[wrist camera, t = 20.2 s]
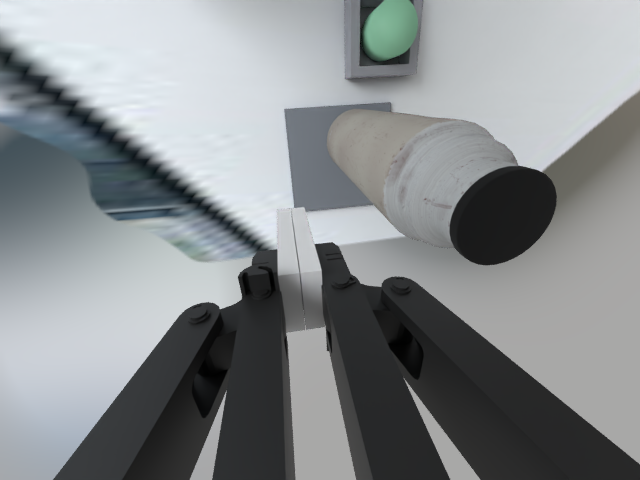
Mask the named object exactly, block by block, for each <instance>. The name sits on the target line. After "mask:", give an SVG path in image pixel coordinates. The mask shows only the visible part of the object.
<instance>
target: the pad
mask: <svg viewBox="0 0 640 480" xmlns="http://www.w3.org/2000/svg"><path fill="white" fill-rule="evenodd" d="M390 108H391V103H375V104H359V105H343V106H327V107H311V108H295V109H284V110H285V119H286V129H287V139H288V148H289V158H290V168H291V178H292V187H293V197H294V207H295V208H300V207H304V208H305V211H314V210H324V209H333V208H343V207H353V206H362V205H372V204H373V203H372V202H371V201H370V200H369V199H368V198H367V197H366V196H365V195H364V194H363V193H362V191H361V190H360V189H359V188H358V187H357V186H356V185H355V184H354V183H353V182H352V181H351V180H350V179H349V177H348V176H347V175H346V174H345V173H344V172H343V171H342V170H341V169H340V168H339V167H338V166H337V165H336V163H335V162H334V161H333V160H332V158H331V157H330V155H329V152H328V149H327V135H328V131H329V129H330V126H331V125H332V123H333V121H334V120H335V119H336V118H337V117H338V116H339V115H341V114H342V113H344V112H346V111H348V110H352V109H366V110H375V111H384V112H390Z"/></svg>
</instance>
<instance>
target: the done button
mask: <svg viewBox="0 0 640 480" xmlns="http://www.w3.org/2000/svg"><path fill="white" fill-rule="evenodd" d="M417 30H418V17H417V13H416V10H415V8H414V6H413V4H412V3H411V2H410V1H409V0H384V1H383V2H382V3H381V4H380V5H379V6H378V7H377V8H376V9H375V10H374V11H373V12H371V13H370V14H369V15H368V17H367V18H366V19H365V21H364V23H363V26H362V29H361V36H360V37H361V45H362V48H363V51H364V53H365V54H366V55H367V56H368V57H369V58H370V59H372V60H374V61H377V62H382V61H386V60H388V59H391V58H394V57H396V56H399V55H401V54H403V53H404V52H406V51H407V50H408V49H409V48H410V46H411V45H412V43H413V42H414V40H415V37H416V34H417Z"/></svg>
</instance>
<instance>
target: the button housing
mask: <svg viewBox="0 0 640 480" xmlns="http://www.w3.org/2000/svg"><path fill="white" fill-rule="evenodd" d="M383 1H384V0H344V6H345V79H351V78H371V77H390V76H406V75H411V74H416V70H417V60H418V49H419V39H420V28H421V18H422V7H423V0H409V1H410V2H411V3H412V4H413V6H414V8H415V10H416V13H417V17H418V30H417V34H416V37H415V40H414V42H413V43H412V45H411V46H410V48H409V49H408V50H407V51H406V52H404V53H403V54H401V55H400V56H399V64H396V65H375V66H359V63H360V7H378V6H379V5H380V4H381V3H382V2H383Z"/></svg>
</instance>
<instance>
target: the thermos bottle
mask: <svg viewBox="0 0 640 480" xmlns="http://www.w3.org/2000/svg"><path fill="white" fill-rule="evenodd" d="M327 149H328V152H329V155H330V157H331V158H332V160H333V161H334V162H335V163H336V165H337V166H338V167H339V168H340V169H341V170H342V171H343V172H344V173H345V174H346V175H347V176H348V177H349V179H350V180H351V181H352V182H353V183H354V184H355V185H356V186H357V187H358V188H359V189H360V190H361V191H362V193H363V194H364V195H365V196H366V197H367V198H368V199H369V200H370V201H371V202H372V203H373V204H374V205H375V207H376V208H377V209H378V210H379V211H380V212H381V213H382V214H383V215H384V216H385V217H386V218H387V220H388V221H389V222H390V223H391V224H392V225H393V226H394V227H395V228H396V229H397V230H398V231H399V232H400V233H402V234H404V235H405V236H407V237H409V238H412V239H415V240H420V241H423V242H426V243H429V244H431V245H434V246H437V247H441V248H455V249H456V250H457V251H458V252H459V253H460V254H461V255H462V256H464V257H465V258H466V259H468V260H469V261H471V262H474V263H476V264H480V265H495V264H499V263H503V262H506V261H508V260H511V259H513V258H515V257H517V256H518V255H520V254H522V253H523V252H525V251H526V250H527V249H529V248H530V247H531V246H532V245H533V244H534V243H535V242H536V241H537V240H538V239H539V238H540V237H541V236H542V234H543V233H544V232H545V230H546V228H547V227H548V225H549V224H550V222H551V219H552V217H553V214H554V211H555V207H556V198H557V196H556V190H555V187H554V185H553V183H552V181H551V179H550V178H549V177H548V176H547V175H546V174H544V173H542V172H540V171H538V170H535V169H531V168H527V167H522V166H518V164H517V160H516V158H515V157H514V155H513V153H512V152H511V151H510V150H509V149H508V148H507V147H506V146H505V145H504V144H502V143H500V142H498V141H496V140H495V139H494V138H493V136H492V135H491V134H490V133H489V132H488V131H487V130H486V129H485V128H483V127H481V126H479V125H477V124H475V123H472V122H468V121H464V120H457V119H447V118H432V117H425V116H419V115H411V114H402V113H393V112H384V111H375V110H366V109H352V110H348V111H346V112H344V113H342V114H341V115H339V116H338V117H337V118H336V119H335V120H334V121H333V123H332V125H331V126H330V129H329V131H328V135H327Z"/></svg>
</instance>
